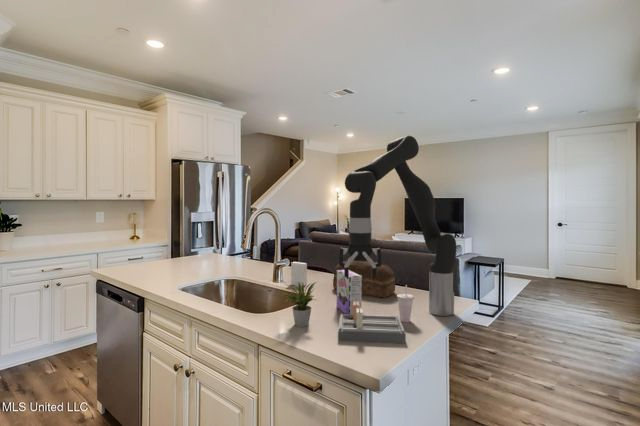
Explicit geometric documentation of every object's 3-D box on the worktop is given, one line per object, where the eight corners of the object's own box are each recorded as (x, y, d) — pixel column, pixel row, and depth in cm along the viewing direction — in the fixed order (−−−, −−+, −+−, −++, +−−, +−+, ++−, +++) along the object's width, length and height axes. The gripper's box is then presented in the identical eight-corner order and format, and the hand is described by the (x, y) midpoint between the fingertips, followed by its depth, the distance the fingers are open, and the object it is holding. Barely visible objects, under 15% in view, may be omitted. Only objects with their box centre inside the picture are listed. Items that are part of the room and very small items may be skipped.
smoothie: (401, 324, 132) (402, 287, 131) (393, 318, 138) (394, 283, 137) (416, 322, 133) (417, 286, 133) (408, 317, 140) (408, 282, 139)
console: (399, 325, 130) (399, 315, 130) (405, 343, 114) (405, 331, 114) (339, 323, 132) (340, 313, 132) (338, 340, 116) (338, 329, 116)
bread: (386, 299, 165) (386, 266, 164) (329, 289, 183) (329, 259, 182) (398, 292, 177) (398, 261, 176) (344, 284, 195) (344, 255, 194)
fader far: (358, 316, 130) (358, 301, 129) (358, 320, 125) (359, 304, 125) (353, 316, 130) (353, 300, 130) (353, 320, 125) (353, 304, 125)
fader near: (362, 324, 122) (362, 307, 121) (362, 328, 117) (362, 311, 117) (356, 323, 122) (356, 307, 121) (356, 328, 117) (356, 311, 117)
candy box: (335, 307, 152) (336, 269, 152) (348, 305, 154) (348, 268, 154) (348, 317, 139) (349, 276, 139) (362, 315, 141) (362, 275, 141)
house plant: (302, 314, 142) (302, 274, 142) (328, 322, 134) (329, 279, 133) (276, 323, 131) (276, 280, 131) (303, 332, 123) (303, 286, 122)
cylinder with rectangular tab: (310, 283, 195) (310, 262, 194) (300, 287, 187) (301, 264, 187) (297, 281, 199) (297, 260, 199) (287, 285, 192) (287, 263, 191)
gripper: (380, 230, 121) (380, 276, 122) (339, 229, 123) (339, 275, 123) (382, 232, 114) (382, 281, 114) (338, 231, 115) (338, 280, 116)
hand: (360, 278), depth 119 cm, fingers open, 8 cm apart
